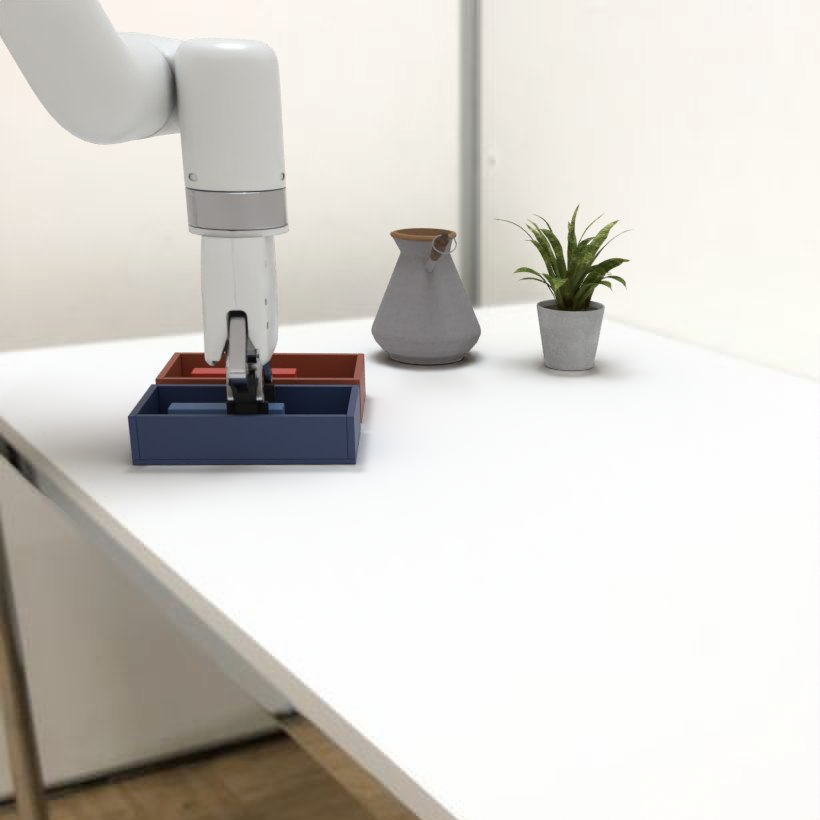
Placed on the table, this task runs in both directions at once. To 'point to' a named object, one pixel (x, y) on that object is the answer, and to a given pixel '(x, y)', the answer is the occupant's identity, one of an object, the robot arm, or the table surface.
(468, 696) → the table surface
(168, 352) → the table surface
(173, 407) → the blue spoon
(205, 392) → the blue bin
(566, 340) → the house plant
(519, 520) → the table surface
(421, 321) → the coffee pot
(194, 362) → the red bin
